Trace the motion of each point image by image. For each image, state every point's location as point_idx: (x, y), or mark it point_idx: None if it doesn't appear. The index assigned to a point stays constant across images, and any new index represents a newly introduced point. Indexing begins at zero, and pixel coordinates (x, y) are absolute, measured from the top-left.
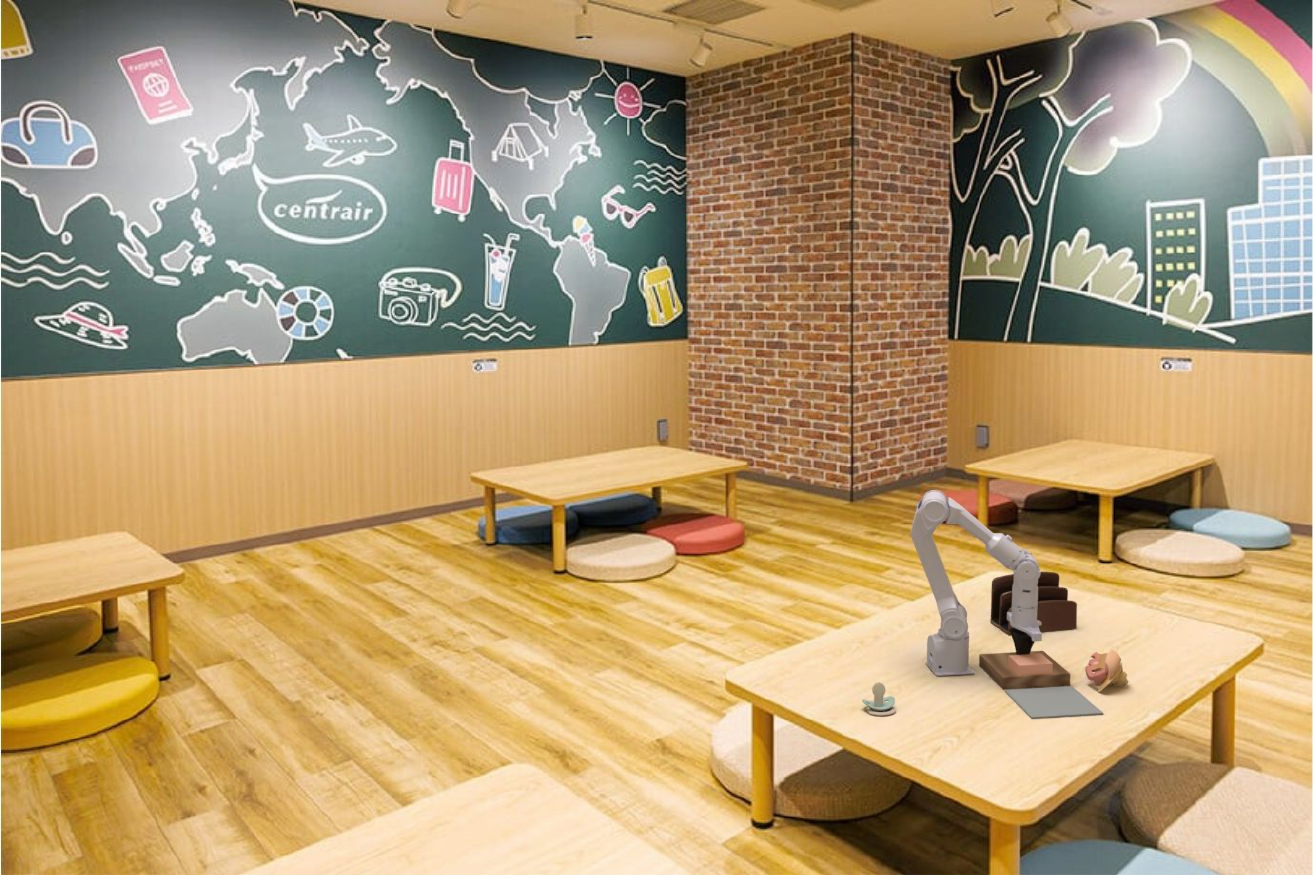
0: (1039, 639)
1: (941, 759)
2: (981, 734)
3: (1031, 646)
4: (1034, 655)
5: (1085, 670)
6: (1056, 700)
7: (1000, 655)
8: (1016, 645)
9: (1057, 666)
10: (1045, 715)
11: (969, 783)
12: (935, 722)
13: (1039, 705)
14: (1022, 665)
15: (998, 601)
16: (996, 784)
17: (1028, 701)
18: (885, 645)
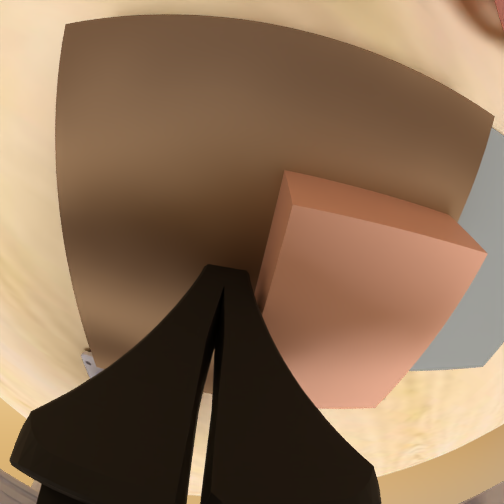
0: (492, 499)
1: (432, 453)
2: (438, 428)
3: (282, 365)
4: (307, 287)
5: (498, 11)
6: (497, 272)
7: (105, 314)
8: (198, 409)
9: (385, 91)
10: (501, 340)
11: (474, 438)
12: (367, 457)
13: (475, 331)
14: (382, 397)
15: None
16: (494, 423)
17: (444, 346)
18: (27, 393)
